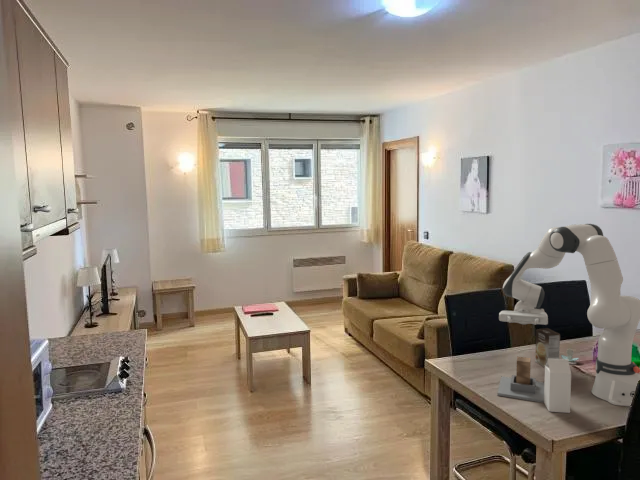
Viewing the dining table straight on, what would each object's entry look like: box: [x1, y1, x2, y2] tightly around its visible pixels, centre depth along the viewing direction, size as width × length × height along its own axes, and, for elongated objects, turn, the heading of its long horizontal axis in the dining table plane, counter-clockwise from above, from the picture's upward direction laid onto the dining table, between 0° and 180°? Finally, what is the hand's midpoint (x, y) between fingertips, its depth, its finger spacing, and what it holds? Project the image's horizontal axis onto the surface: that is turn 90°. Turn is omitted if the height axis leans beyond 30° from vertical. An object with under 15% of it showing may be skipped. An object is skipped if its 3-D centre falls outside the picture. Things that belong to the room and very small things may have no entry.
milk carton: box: [544, 358, 572, 414], centre depth 173 cm, size 7×7×19 cm
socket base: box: [497, 374, 545, 403], centre depth 190 cm, size 18×18×4 cm
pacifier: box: [560, 348, 580, 365], centre depth 219 cm, size 7×6×6 cm
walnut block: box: [515, 356, 532, 385], centre depth 189 cm, size 5×5×12 cm
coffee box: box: [534, 327, 561, 368], centre depth 215 cm, size 9×6×16 cm
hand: (522, 321), depth 205 cm, fingers open, 8 cm apart
